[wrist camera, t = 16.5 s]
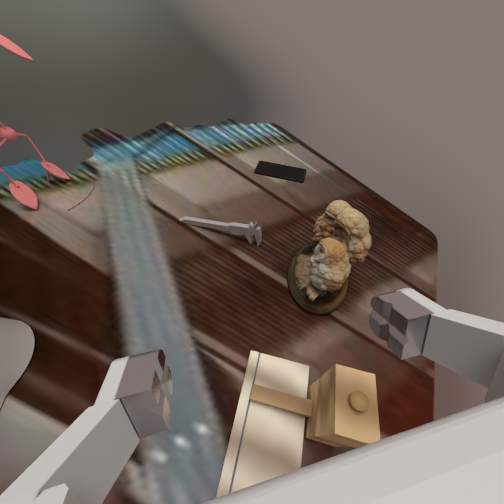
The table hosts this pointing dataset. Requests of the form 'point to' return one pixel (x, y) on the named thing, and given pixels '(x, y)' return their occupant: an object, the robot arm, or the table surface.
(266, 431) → the board
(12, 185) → the figurine
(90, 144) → the table surface
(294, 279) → the carved stone sculpture
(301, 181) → the smartphone
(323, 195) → the table surface
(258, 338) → the table surface
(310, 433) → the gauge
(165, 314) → the table surface
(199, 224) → the caliper
